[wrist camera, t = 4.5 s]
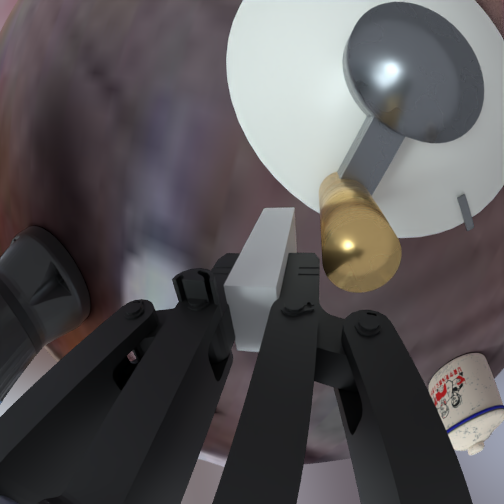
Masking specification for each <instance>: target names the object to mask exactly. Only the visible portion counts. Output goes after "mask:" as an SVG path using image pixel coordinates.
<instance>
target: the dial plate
mask: <svg viewBox="0 0 504 504" xmlns="http://www.w3.org/2000/svg"><path fill="white" fill-rule="evenodd" d="M388 2H408V3H413V4H417V5H421V6H423V7H426V8H428V9H430V10H432V11H434V12H436V13H438V14H439V15H441V16H442V17H444V18H445V19H447V20H448V21H449V22H450V23H451V24H453V25H454V26H455V27H456V28H457V29H458V30H459V31H460V32H461V34H462V35H463V36H464V37H465V39H466V40H467V41H468V43H469V44H470V46H471V47H472V49H473V51H474V53H475V55H476V57H477V59H478V62H479V64H480V67H481V71H482V75H483V80H484V101H483V106H482V110H481V113H480V115H479V117H478V119H477V121H476V123H475V124H474V125H473V127H472V128H471V129H470V130H469V131H468V132H467V133H466V134H464V135H463V136H461V137H460V138H458V139H455V140H453V141H450V142H446V143H426V142H421V141H418V140H414V139H411V138H408V137H405V138H404V140H403V142H402V144H401V145H400V147H399V149H398V151H397V153H396V154H395V156H394V158H393V160H392V162H391V163H390V165H389V167H388V169H387V170H386V172H385V174H384V176H383V177H382V179H381V181H380V182H379V184H378V186H377V187H376V189H375V191H374V193H373V194H372V198H373V199H374V201H375V202H376V204H377V205H378V207H379V208H380V210H381V211H382V213H383V214H384V216H385V218H386V219H387V221H388V222H389V224H390V226H391V227H392V229H393V231H394V232H395V234H396V236H397V238H412V237H423V236H428V235H433V234H438V233H441V232H443V231H446V230H449V229H452V228H454V227H456V226H458V225H460V224H462V223H465V227H466V230H467V231H469V230H471V229H472V228H474V224H473V220H472V217H473V216H475V215H476V214H478V213H479V212H480V211H482V210H483V209H484V208H485V207H486V206H487V205H488V204H489V203H490V202H491V201H492V200H493V199H494V197H495V196H496V195H497V194H498V192H499V191H500V190H501V188H502V187H503V185H504V40H503V38H502V36H501V34H500V33H499V31H498V30H497V28H496V27H495V25H494V24H493V22H492V21H491V19H490V18H489V16H488V15H487V14H486V13H485V12H484V10H483V9H482V8H481V7H480V6H479V4H478V3H477V2H476V1H475V0H243V2H242V3H241V5H240V7H239V9H238V11H237V14H236V16H235V18H234V20H233V24H232V27H231V31H230V35H229V39H228V47H227V57H226V64H227V81H228V86H229V91H230V96H231V101H232V104H233V107H234V110H235V112H236V115H237V118H238V121H239V123H240V125H241V127H242V129H243V131H244V134H245V136H246V138H247V140H248V142H249V143H250V145H251V146H252V148H253V149H254V151H255V152H256V154H257V156H258V157H259V159H260V160H261V161H262V163H263V164H264V165H265V166H266V167H267V169H268V170H269V171H270V172H271V174H272V175H273V176H274V177H275V178H276V179H277V180H278V181H279V182H280V183H281V184H282V185H283V186H284V187H285V188H286V189H287V190H288V191H289V192H290V193H291V194H293V195H294V196H295V197H297V198H298V199H299V200H300V201H302V202H303V203H304V204H305V205H307V206H308V207H310V208H311V209H313V210H315V211H316V212H318V213H319V214H320V208H319V188H320V185H321V183H322V181H323V180H324V179H325V178H326V177H327V176H328V175H330V174H332V173H334V172H337V171H338V169H339V167H340V165H341V164H342V162H343V160H344V158H345V156H346V154H347V153H348V151H349V149H350V147H351V145H352V143H353V141H354V140H355V138H356V136H357V134H358V132H359V130H360V128H361V126H362V125H363V123H364V121H365V119H366V117H367V116H366V114H365V113H364V112H363V111H362V110H361V109H360V108H359V106H358V105H357V104H356V102H355V101H354V99H353V97H352V96H351V94H350V92H349V90H348V87H347V85H346V82H345V79H344V74H343V65H342V60H343V52H344V48H345V45H346V43H347V40H348V38H349V36H350V34H351V32H352V30H353V28H354V26H355V25H356V23H357V22H358V20H359V19H360V18H361V17H362V15H363V14H364V13H366V12H367V11H368V10H370V9H371V8H373V7H375V6H377V5H380V4H384V3H388Z"/></svg>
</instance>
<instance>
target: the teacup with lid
mask: <svg viewBox="0 0 504 504" xmlns="http://www.w3.org/2000/svg"><path fill="white" fill-rule="evenodd" d="M429 394H430V396H431V398H432V400H433V402H434V404H435V406H436V409H437V411H438V413H439V415H440V417H441V420H442V422H443V424H444V427H445V429H446V431H447V434H448V436H449V438H450V441H451V443H452V446H453V448H454V450H458V451H465V450H468V454H469V455H474V454H476V453H478V452H480V451H481V450H483V448H484V443H483V442H484V441H485V440H486V439H488V438H489V437H490V435H491V434H492V432H493V431H494V430H495V429H496V428H497V427H498V426H499V425H500V424H501V423H502V422H503V420H504V406H503V403H502V400H501V397H500V394H499V391H498V388H497V386H496V383H495V380H494V377H493V375H492V372H491V370H490V367H489V365H488V362H487V360H486V358H485V356H484V355H482V354H480V353H469V354H465V355H462V356H460V357H458V358H456V359H454V360H452V361H450V362H449V363H447V364H446V365H444V366H443V367H442V368H441V369H440V370H439V371H437V372H436V374H435V375H434V376H433V377H432V379H431V381H430V383H429Z"/></svg>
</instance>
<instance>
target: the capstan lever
mask: <svg viewBox="0 0 504 504" xmlns="http://www.w3.org/2000/svg"><path fill="white" fill-rule="evenodd" d="M342 65H343V74H344V79H345V82H346V85H347V87H348V90H349V92H350V94H351V96H352V97H353V99H354V101H355V102H356V104H357V105H358V106H359V108H360V109H361V110H362V111H363V112H364V113H365V114H366V116H367V117H366V119H365V121H364V123H363V125H362V126H361V128H360V130H359V132H358V134H357V136H356V138H355V140H354V141H353V143H352V145H351V147H350V149H349V151H348V153H347V154H346V156H345V158H344V160H343V162H342V164H341V165H340V167H339V169H338V171H337V172H334V173H332V174H330V175H328V176H327V177H326V178H325V179H324V180H323V181H322V183H321V185H320V188H319V208H320V223H321V241H322V263H323V268H324V271H325V273H326V275H327V277H328V278H329V280H330V281H331V282H332V283H333V284H335V285H336V286H337V287H339V288H341V289H343V290H346V291H349V292H357V293H360V292H368V291H372V290H375V289H377V288H379V287H381V286H383V285H384V284H386V283H387V282H388V281H389V280H390V279H391V278H392V277H393V276H394V274H395V273H396V271H397V269H398V267H399V265H400V261H401V245H400V242H399V239H398V238H397V236H396V234H395V232H394V231H393V229H392V227H391V226H390V224H389V222H388V221H387V219H386V218H385V216H384V214H383V213H382V211H381V210H380V208H379V207H378V205H377V204H376V202H375V201H374V199H373V198H372V194H373V193H374V191H375V189H376V187H377V186H378V184H379V182H380V181H381V179H382V177H383V176H384V174H385V172H386V170H387V169H388V167H389V165H390V163H391V162H392V160H393V158H394V156H395V154H396V153H397V151H398V149H399V147H400V145H401V144H402V142H403V140H404V138H405V137H408V138H411V139H414V140H418V141H421V142H426V143H446V142H450V141H453V140H455V139H458V138H460V137H461V136H463V135H464V134H466V133H467V132H468V131H469V130H470V129H471V128H472V127H473V125H474V124H475V123H476V121H477V119H478V117H479V115H480V113H481V110H482V106H483V101H484V80H483V75H482V71H481V67H480V64H479V62H478V59H477V57H476V55H475V53H474V51H473V49H472V47H471V46H470V44H469V43H468V41H467V40H466V39H465V37H464V36H463V35H462V34H461V32H460V31H459V30H458V29H457V28H456V27H455V26H454V25H453V24H451V23H450V22H449V21H448V20H447V19H445V18H444V17H442V16H441V15H439V14H438V13H436V12H434V11H432V10H430V9H428V8H426V7H423V6H421V5H417V4H413V3H408V2H388V3H384V4H380V5H377V6H375V7H373V8H371V9H370V10H368V11H367V12H366V13H364V14H363V15H362V17H361V18H360V19H359V20H358V22H357V23H356V25H355V26H354V28H353V30H352V32H351V34H350V36H349V38H348V40H347V43H346V45H345V48H344V52H343V60H342Z"/></svg>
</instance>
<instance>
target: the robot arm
mask: <svg viewBox="0 0 504 504" xmlns="http://www.w3.org/2000/svg"><path fill="white" fill-rule="evenodd" d="M172 281H173V284H174V287H175V291H176V294H177V297H178V300H179V302H178V304H177V305H176V307H175V308H173V309H167V310H159V311H155V309H154V306H153V304H152V303H151V302H150V301H148V300H143V299H141V300H134V301H132V302H129V303H127V304H126V305H124V306H122V307H121V308H120V309H119V310H118V311H116V312H115V313H114V314H113V315H112V316H110V317H109V318H108V319H107V320H106V321H105V322H103V323H102V324H101V325H100V326H99V327H98V328H96V329H95V330H94V331H93V332H92V333H91V334H89V335H88V336H87V337H86V338H85V339H84V340H83V341H81V342H80V343H79V344H78V345H77V346H76V347H75V348H73V349H72V350H71V351H70V352H69V353H68V354H67V355H66V356H64V357H63V358H62V359H61V360H60V361H59V362H58V363H57V364H56V365H54V366H53V367H52V368H51V369H50V370H49V371H48V372H47V373H46V374H45V375H43V376H42V377H41V378H40V379H39V380H38V381H37V382H36V383H35V384H34V385H33V386H32V387H31V388H30V389H29V390H28V391H26V392H25V393H24V394H23V395H22V396H21V397H20V398H19V399H18V400H17V401H16V402H15V403H14V404H13V405H12V406H11V407H10V408H9V409H8V410H7V411H6V412H5V413H4V414H3V415H2V416H1V417H0V504H181V501H182V498H183V496H184V493H185V491H186V488H187V485H188V483H189V480H190V478H191V475H192V472H193V470H194V467H195V464H196V462H197V459H198V456H199V454H200V451H201V448H202V446H203V443H204V440H205V437H206V435H207V432H208V429H209V427H210V424H211V421H212V418H213V416H214V413H215V410H216V407H217V404H218V402H219V399H220V396H221V393H222V390H223V388H224V385H225V382H226V379H227V376H228V374H229V371H230V368H231V365H232V362H233V355H232V351H231V348H232V346H233V343H234V340H235V343H236V347H237V350H241V351H252V352H259V354H258V357H257V361H256V364H255V368H254V371H253V375H252V379H251V382H250V385H249V389H248V392H247V396H246V399H245V403H244V406H243V409H242V413H241V416H240V419H239V423H238V426H237V429H236V433H235V436H234V439H233V442H232V445H231V449H230V452H229V455H228V458H227V461H226V464H225V467H224V471H223V474H222V477H221V480H220V483H219V486H218V489H217V492H216V494H215V497H214V501H213V503H212V504H296V503H297V498H298V492H299V487H300V482H301V475H302V470H303V464H304V458H305V451H306V444H307V437H308V430H309V422H310V413H311V405H312V395H313V385H314V381H316V382H319V383H322V384H325V385H329V386H332V387H334V391H335V395H336V399H337V402H338V406H339V410H340V414H341V418H342V422H343V426H344V430H345V434H346V438H347V443H348V447H349V451H350V456H351V460H352V464H353V469H354V473H355V478H356V483H357V487H358V492H359V497H360V502H361V504H473V503H472V500H471V497H470V494H469V490H468V487H467V484H466V481H465V478H464V475H463V472H462V470H461V467H460V464H459V461H458V459H457V456H456V454H455V451H454V448H453V446H452V443H451V441H450V438H449V436H448V434H447V431H446V429H445V427H444V424H443V422H442V420H441V417H440V415H439V413H438V411H437V409H436V406H435V404H434V402H433V400H432V398H431V396H430V394H429V392H428V390H427V388H426V386H425V384H424V382H423V380H422V378H421V376H420V374H419V372H418V370H417V368H416V366H415V364H414V362H413V360H412V358H411V357H410V355H409V353H408V351H407V349H406V347H405V346H404V344H403V342H402V340H401V338H400V337H399V335H398V333H397V331H396V330H395V328H394V326H393V324H392V323H391V321H390V320H389V319H388V318H387V317H386V316H385V315H383V314H381V313H379V312H376V311H372V310H360V311H357V312H354V313H352V314H350V315H349V316H348V317H346V319H342V318H338V317H335V316H332V315H330V314H328V313H327V312H325V311H324V310H323V309H322V308H321V306H320V304H319V258H318V257H317V256H316V255H315V253H297V245H296V223H295V207H291V208H264V209H263V211H262V213H261V215H260V217H259V219H258V221H257V222H256V224H255V226H254V228H253V230H252V232H251V234H250V236H249V238H248V240H247V241H246V243H245V245H244V247H243V249H242V251H241V253H227V254H225V255H224V256H223V257H221V258H220V259H218V261H217V262H216V264H215V265H214V268H213V269H212V270H211V271H210V270H208V269H202V268H197V269H190V270H186V271H183V272H181V273H180V274H178V275H176V276H175V277H174V278H173V279H172ZM89 313H90V297H89V293H88V289H87V287H86V284H85V281H84V279H83V277H82V275H81V273H80V271H79V269H78V267H77V265H76V264H75V262H74V260H73V259H72V257H71V256H70V254H69V253H68V252H67V250H66V249H65V248H64V247H63V245H62V244H61V243H60V242H59V241H58V240H57V239H56V238H55V237H54V236H53V235H52V234H50V233H49V232H48V231H46V230H45V229H43V228H41V227H38V226H30V227H28V228H26V229H25V230H23V231H22V232H20V233H19V234H17V235H16V236H15V237H14V239H13V240H12V242H11V245H10V247H9V248H8V249H7V250H6V251H5V252H4V253H3V255H2V256H1V257H0V404H1V403H2V401H3V399H4V398H5V396H6V395H7V393H8V392H9V391H10V389H11V388H12V386H13V385H14V383H15V382H16V381H17V379H18V378H19V377H20V375H21V374H22V373H23V371H24V370H25V369H26V368H27V366H28V365H29V364H30V363H31V361H32V360H33V359H34V357H35V356H36V355H37V354H38V352H39V351H40V350H41V349H42V348H43V347H44V346H45V345H46V344H47V343H49V342H51V341H53V340H55V339H57V338H59V337H61V336H63V335H65V334H67V333H68V332H70V331H72V330H74V329H76V328H77V327H79V326H80V325H81V324H82V322H83V321H84V320H85V319H86V318H87V317H88V315H89ZM131 351H133V353H134V355H135V356H136V359H135V360H134V361H129V359H128V357H127V355H128V354H129V353H130V352H131Z"/></svg>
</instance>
